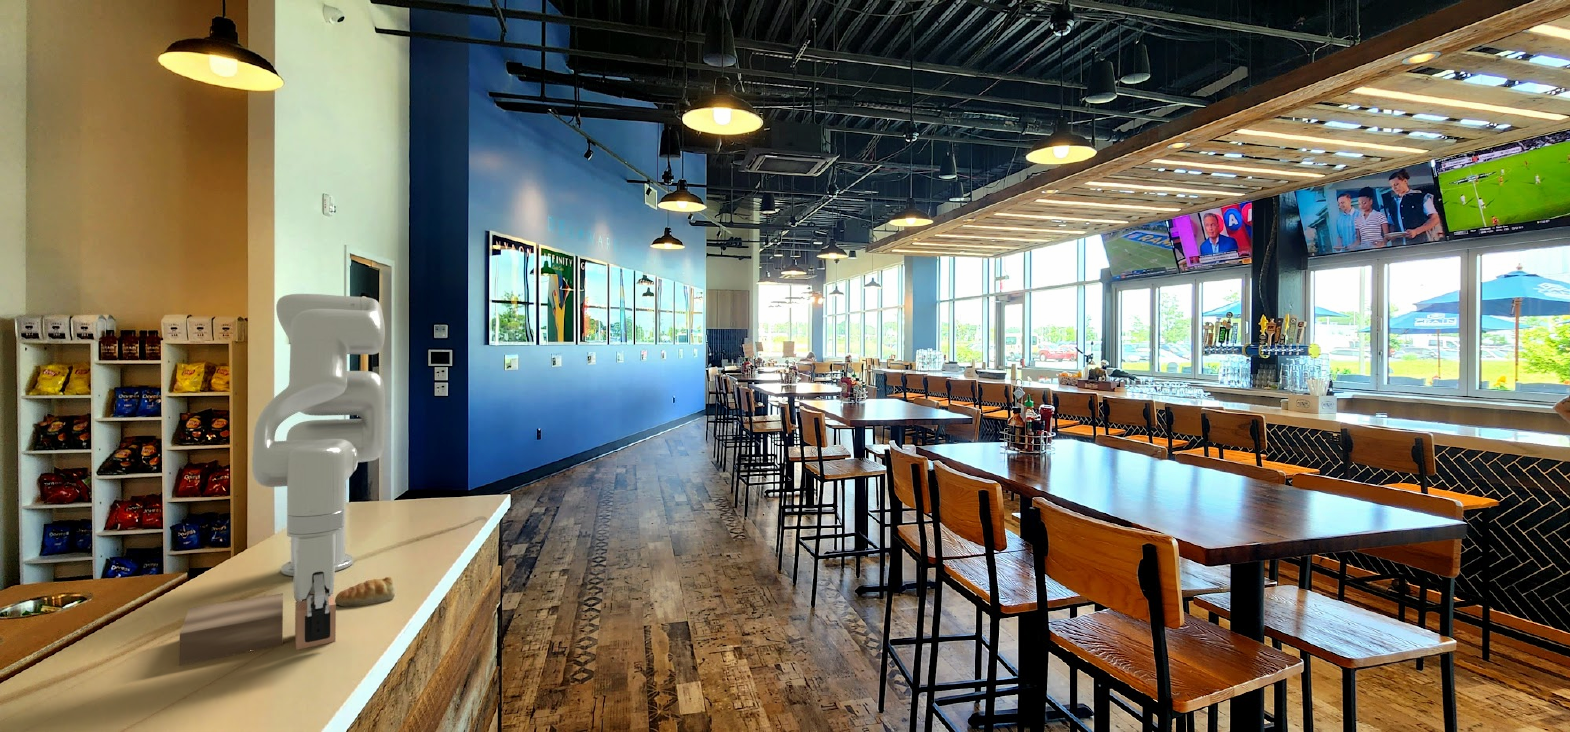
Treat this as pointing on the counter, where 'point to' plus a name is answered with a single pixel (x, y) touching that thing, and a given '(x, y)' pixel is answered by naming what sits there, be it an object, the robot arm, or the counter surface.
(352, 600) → the pastry
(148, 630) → the counter surface
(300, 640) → the terracotta block
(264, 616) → the taupe streaked block
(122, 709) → the counter surface
